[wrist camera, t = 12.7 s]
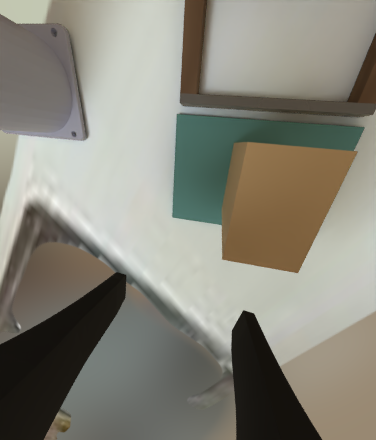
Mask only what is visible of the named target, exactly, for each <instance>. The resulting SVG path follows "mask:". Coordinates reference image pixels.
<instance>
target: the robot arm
mask: <svg viewBox="0 0 376 440" xmlns="http://www.w3.org/2000/svg"><path fill="white" fill-rule="evenodd" d="M56 31H57V36H55V33H56ZM0 130H2V131H3V132H5V133H9V134H19V135H29V136H39V137H50V138H60V139H70V140H80V141H83V140H85V139H86V133H85V127H84V121H83V115H82V109H81V103H80V97H79V91H78V85H77V79H76V73H75V67H74V61H73V55H72V50H71V44H70V38H69V33H68V31H67V29H66V28H65V27H64V26H62V25H61V24H16V23H14V22H12V21H11V20H9V19H8V18H6V17H4V16H2V15H1V14H0ZM75 133H76V136H75ZM125 294H126V275H124V274H121V273H118V272H117V273H115V274H113V275H112V276H111V277H109V278H108V279H107V280H105V281H104V282H103V283H101V284H100V285H99V286H97V287H96V288H94V289H93V290H92V291H90V292H89V293H87V294H86V295H84V296H83V297H82V298H80V299H79V300H77V301H76V302H74V303H72V304H71V305H69V306H68V307H66V308H65V309H63V310H62V311H60V312H58V313H57V314H55V315H53V316H52V317H50V318H48V319H47V320H45V321H43V322H41V323H40V324H38V325H36V326H34V327H33V328H31V329H29V330H27V331H25V332H24V333H21V334H20V335H18V336H16V337H14V338H12V339H10V340H8V341H6V342H4V343H2V344H0V440H44V438H45V436H46V434H47V432H48V430H49V428H50V426H51V424H52V422H53V421H54V419H55V417H56V415H57V413H58V411H59V409H60V407H61V406H62V404H63V402H64V400H65V398H66V396H67V394H68V393H69V391H70V389H71V387H72V385H73V383H74V382H75V379H76V378H77V376H78V374H79V373H80V371H81V369H82V367H83V366H84V364H85V362H86V361H87V359H88V357H89V356H90V354H91V353H92V351H93V350H94V348H95V347H96V345H97V344H98V342H99V341H100V339H101V337H102V336H103V334H104V333H105V331H106V330H107V328H108V327H109V325H110V323H111V322H112V321H113V319H114V318H115V316H116V314H117V313H118V311H119V309H120V307H121V305H122V303H123V301H124V299H125ZM231 352H232V366H233V379H234V391H235V404H236V430H237V431H236V433H237V434H236V435H237V437H236V440H322V439H321V437H320V436H319V434H318V432H317V431H316V429H315V427H314V426H313V424H312V423H311V421H310V419H309V418H308V416H307V414H306V413H305V411H304V409H303V408H302V406H301V404H300V403H299V401H298V399H297V397H296V396H295V394H294V392H293V390H292V388H291V387H290V385H289V383H288V381H287V379H286V378H285V376H284V374H283V372H282V370H281V368H280V366H279V364H278V362H277V360H276V358H275V356H274V354H273V352H272V350H271V348H270V346H269V344H268V342H267V340H266V338H265V336H264V334H263V332H262V330H261V327H260V325H259V323H258V321H257V319H256V317H255V315H254V313H251V312H247V311H244V310H243V312H242V314H241V315H240V317H239V319H238V321H237V323H236V324H235V326H234V328H233V330H232V347H231Z"/></svg>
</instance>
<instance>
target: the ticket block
mask: <svg viewBox="0 0 376 440" xmlns="http://www.w3.org/2000/svg"><path fill="white" fill-rule="evenodd" d="M356 154H357V151H346V150H334V149H323V148H311V147H300V146H288V145H277V144H265V143H254V142H240V143H234V145H233V150H232V156H231V161H230V167H229V172H228V178H227V183H226V188H225V194H224V199H223V205H222V260H228V261H233V262H239V263H245V264H250V265H256V266H261V267H267V268H272V269H278V270H284V271H289V272H295V273H298V272H299V270H300V268H301V266H302V264H303V262H304V260H305V258H306V256H307V254H308V252H309V250H310V248H311V246H312V244H313V241H314V239H315V237H316V235H317V233H318V231H319V229H320V227H321V225H322V223H323V221H324V219H325V217H326V215H327V213H328V211H329V209H330V207H331V205H332V203H333V201H334V199H335V197H336V195H337V193H338V191H339V189H340V187H341V184H342V182H343V180H344V178H345V176H346V174H347V172H348V170H349V168H350V166H351V164H352V162H353V160H354V158H355V156H356Z"/></svg>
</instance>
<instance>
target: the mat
mask: <svg viewBox="0 0 376 440" xmlns="http://www.w3.org/2000/svg"><path fill="white" fill-rule="evenodd" d="M364 128H365V127H352V126H338V125H323V124H309V123H295V122H281V121H267V120H253V119H239V118H224V117H210V116H196V115H182V114H177V124H176V147H175V169H174V191H173V214H172V217H173V218H180V219H186V220H193V221H199V222H206V223H212V224H219V225H222V205H223V199H224V194H225V188H226V183H227V178H228V172H229V167H230V161H231V156H232V150H233V145H234V143H240V142H254V143H265V144H277V145H288V146H300V147H311V148H323V149H334V150H346V151H354V149H355V147H356V145H357V143H358V141H359V139H360V137H361V134H362V132H363V130H364Z"/></svg>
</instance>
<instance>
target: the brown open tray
mask: <svg viewBox="0 0 376 440" xmlns="http://www.w3.org/2000/svg"><path fill="white" fill-rule="evenodd" d="M206 5H207V0H185V12H184V32H183V52H182V72H181V92H180V103H181V104H182V105H183V106H190V107H206V108H221V109H237V110H253V111H268V112H284V113H299V114H315V115H331V116H346V117H364V116H369V115H373V114H374V112H375V110H376V34H375V37H374V39H373V41H372V44H371V46H370V49H369V51H368V53H367V56H366V58H365V61H364V63H363V65H362V68H361V70H360V73H359V75H358V77H357V80H356V82H355V85H354V87H353V89H352V92H351V94H350V97H349V99H348V101H347V102H334V101H315V100H297V99H278V98H260V97H241V96H222V95H204V94H199V83H200V72H201V61H202V49H203V38H204V27H205V16H206Z"/></svg>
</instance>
